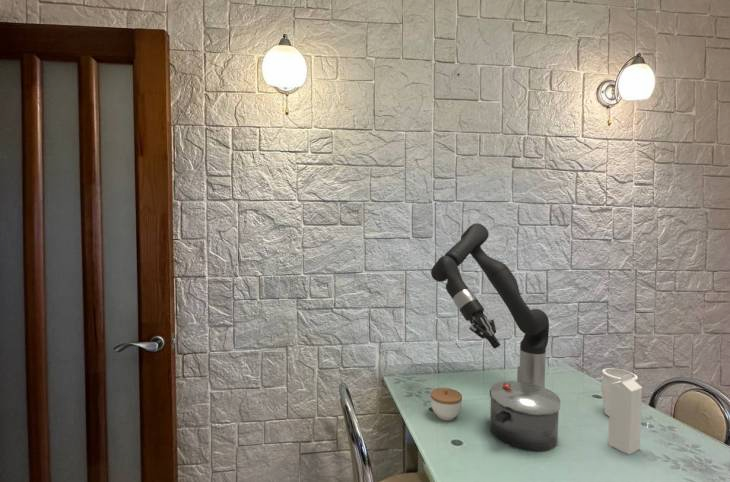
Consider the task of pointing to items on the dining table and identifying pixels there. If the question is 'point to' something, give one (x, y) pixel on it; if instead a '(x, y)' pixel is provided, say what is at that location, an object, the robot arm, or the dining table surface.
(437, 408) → the lidded jar
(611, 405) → the milk
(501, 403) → the lid
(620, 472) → the dining table surface
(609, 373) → the jar
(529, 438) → the cooker pot
